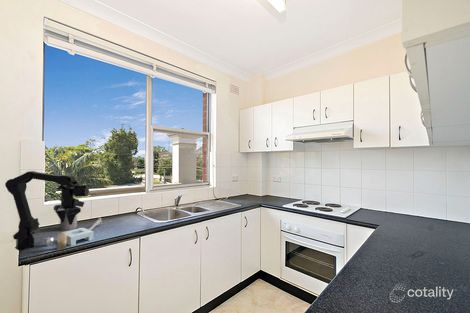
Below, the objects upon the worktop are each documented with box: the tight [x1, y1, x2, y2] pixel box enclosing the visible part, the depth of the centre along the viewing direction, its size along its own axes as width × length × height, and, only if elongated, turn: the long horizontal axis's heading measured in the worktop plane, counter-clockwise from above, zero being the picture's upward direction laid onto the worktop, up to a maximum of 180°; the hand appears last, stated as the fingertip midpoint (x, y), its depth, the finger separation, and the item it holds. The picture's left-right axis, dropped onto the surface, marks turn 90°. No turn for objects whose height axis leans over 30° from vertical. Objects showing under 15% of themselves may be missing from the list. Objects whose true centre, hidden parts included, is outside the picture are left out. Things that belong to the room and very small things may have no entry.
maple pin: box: [56, 232, 67, 251], centre depth 122 cm, size 4×4×8 cm
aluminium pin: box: [44, 236, 55, 247], centre depth 126 cm, size 4×4×4 cm
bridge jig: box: [61, 227, 95, 247], centre depth 133 cm, size 12×14×5 cm
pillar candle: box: [59, 214, 78, 232], centre depth 155 cm, size 10×10×15 cm
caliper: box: [87, 217, 102, 231], centre depth 154 cm, size 20×1×6 cm, turn 7°
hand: (66, 223), depth 126 cm, fingers open, 9 cm apart
